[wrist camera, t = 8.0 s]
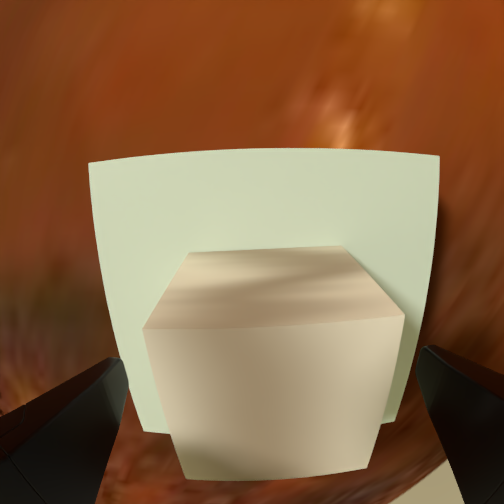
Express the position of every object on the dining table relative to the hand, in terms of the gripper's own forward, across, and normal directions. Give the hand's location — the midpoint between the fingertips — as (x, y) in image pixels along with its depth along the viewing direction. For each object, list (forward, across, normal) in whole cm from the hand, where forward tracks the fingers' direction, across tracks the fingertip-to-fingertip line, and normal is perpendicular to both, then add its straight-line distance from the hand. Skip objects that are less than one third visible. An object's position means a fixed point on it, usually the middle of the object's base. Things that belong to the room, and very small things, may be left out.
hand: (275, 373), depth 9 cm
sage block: (+7, 0, 0) cm, 7 cm away
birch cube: (+3, 0, 0) cm, 3 cm away
